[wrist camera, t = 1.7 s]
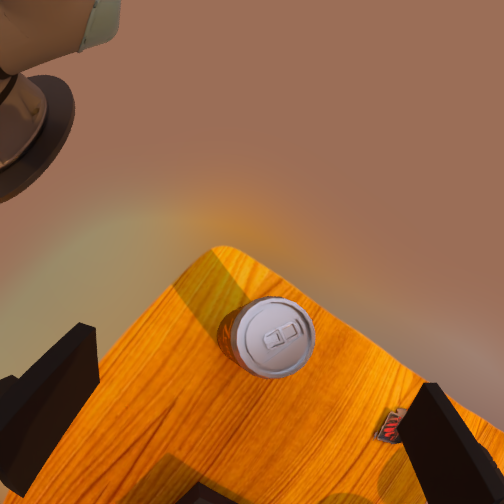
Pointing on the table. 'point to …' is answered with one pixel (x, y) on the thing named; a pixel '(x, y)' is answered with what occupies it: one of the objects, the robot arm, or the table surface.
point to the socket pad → (203, 496)
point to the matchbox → (391, 428)
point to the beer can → (268, 337)
